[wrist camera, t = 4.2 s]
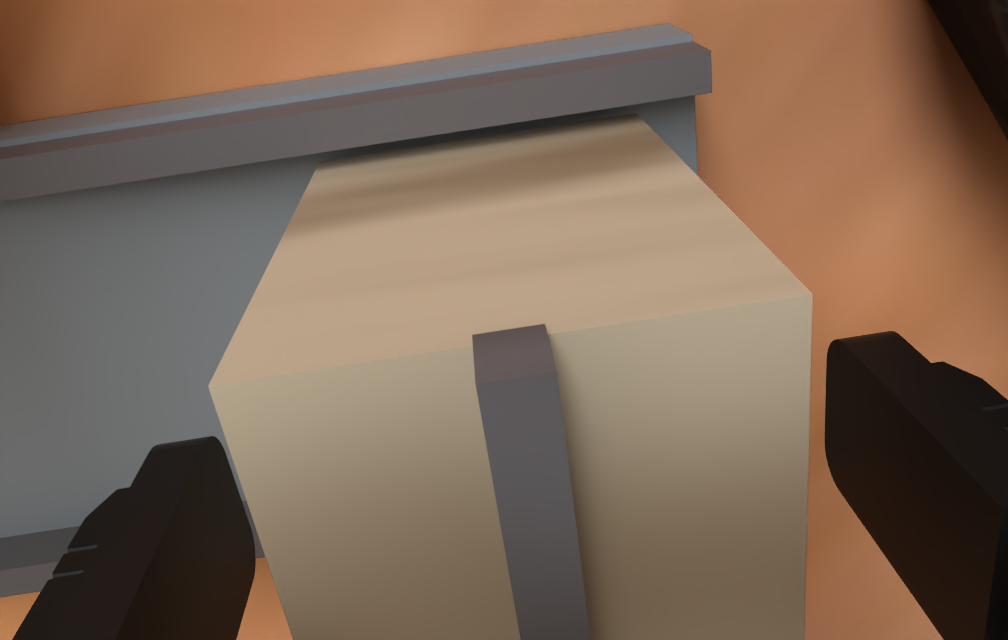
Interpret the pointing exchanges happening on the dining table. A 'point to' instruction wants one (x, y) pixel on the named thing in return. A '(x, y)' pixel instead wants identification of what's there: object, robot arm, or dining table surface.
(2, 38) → the dining table surface
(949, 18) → the beer stein
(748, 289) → the carriage
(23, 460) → the rail
